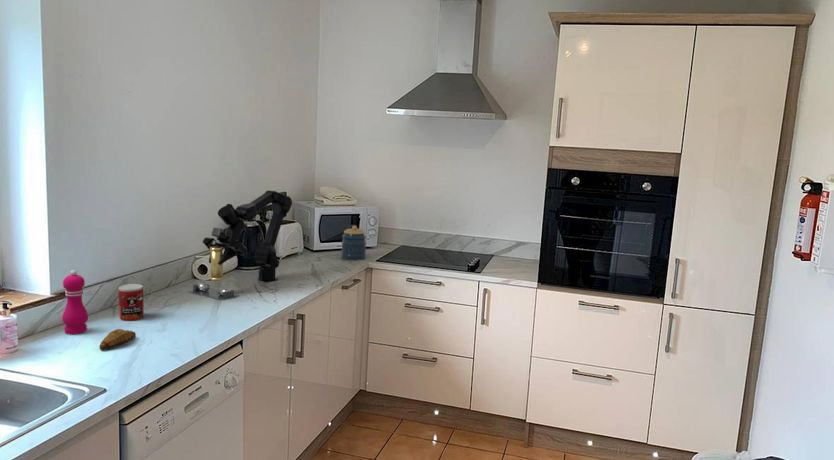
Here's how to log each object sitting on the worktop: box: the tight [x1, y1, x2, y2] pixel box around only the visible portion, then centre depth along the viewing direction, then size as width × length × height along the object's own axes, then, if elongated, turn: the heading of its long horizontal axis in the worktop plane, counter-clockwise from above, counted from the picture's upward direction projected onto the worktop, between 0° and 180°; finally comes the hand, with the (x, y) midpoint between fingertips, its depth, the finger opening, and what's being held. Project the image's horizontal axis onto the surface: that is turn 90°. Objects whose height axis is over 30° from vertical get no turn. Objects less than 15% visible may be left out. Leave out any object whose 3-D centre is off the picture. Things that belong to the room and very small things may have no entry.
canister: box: [341, 225, 367, 260], centre depth 326 cm, size 13×13×18 cm
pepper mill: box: [61, 269, 89, 335], centre depth 193 cm, size 7×7×20 cm
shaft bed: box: [187, 281, 240, 301], centre depth 244 cm, size 19×9×3 cm, turn 60°
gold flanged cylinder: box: [209, 246, 224, 282], centre depth 241 cm, size 5×5×13 cm
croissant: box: [99, 328, 137, 351], centre depth 185 cm, size 14×7×5 cm, turn 163°
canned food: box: [118, 283, 145, 322], centre depth 210 cm, size 8×8×11 cm
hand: (214, 263), depth 239 cm, fingers closed on gold flanged cylinder, 4 cm apart
